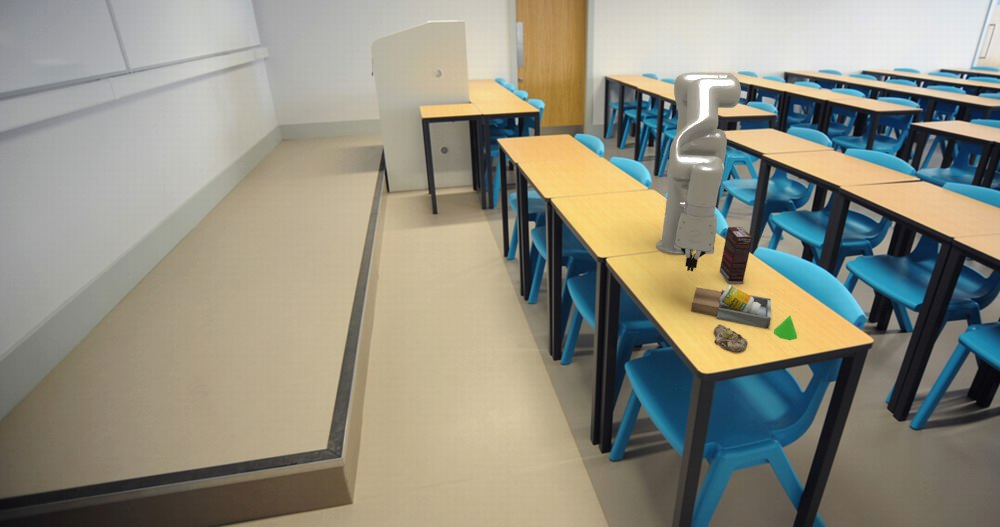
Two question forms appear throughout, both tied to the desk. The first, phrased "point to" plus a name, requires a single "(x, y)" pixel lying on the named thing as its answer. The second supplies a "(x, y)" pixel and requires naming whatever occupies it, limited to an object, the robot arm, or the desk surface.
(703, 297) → the tray
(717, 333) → the mineral rock
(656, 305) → the desk surface
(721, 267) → the supplement box
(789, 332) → the gemstone
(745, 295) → the supplement bottle
